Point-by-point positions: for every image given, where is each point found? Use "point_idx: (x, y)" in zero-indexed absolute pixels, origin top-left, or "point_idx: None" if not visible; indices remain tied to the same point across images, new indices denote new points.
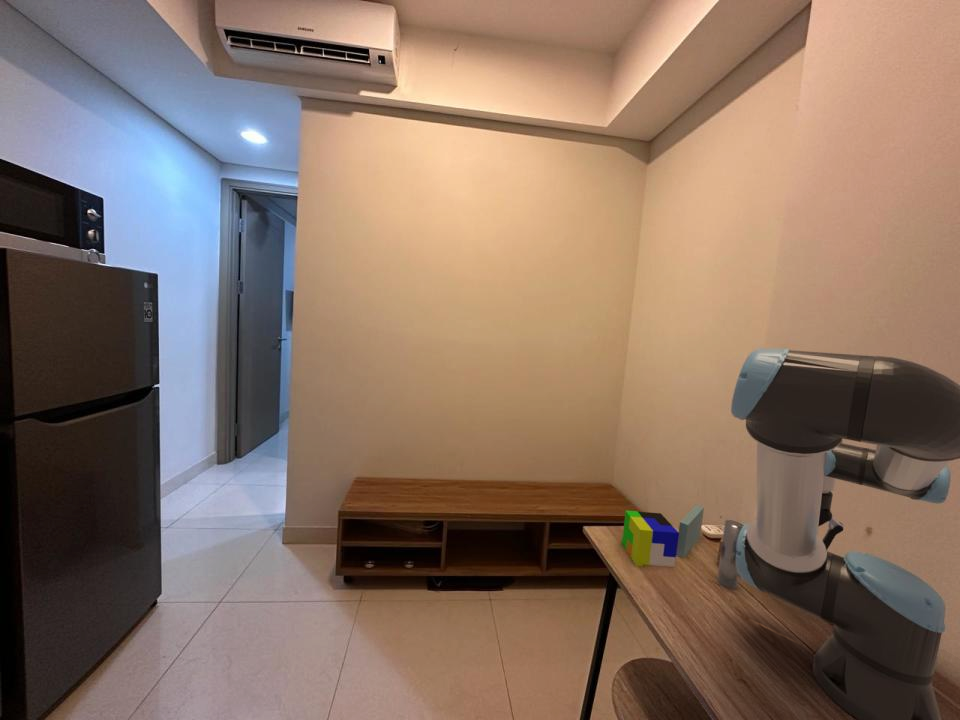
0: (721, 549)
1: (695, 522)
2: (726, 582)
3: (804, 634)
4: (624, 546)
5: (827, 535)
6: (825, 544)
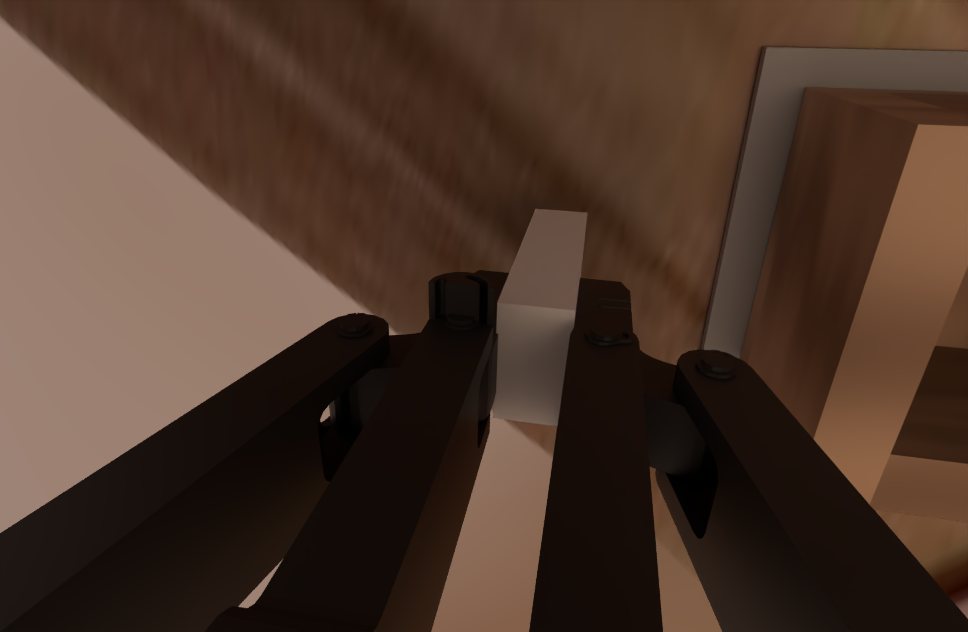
0: None
1: None
2: None
3: None
4: None
5: (32, 596)
6: (190, 450)
